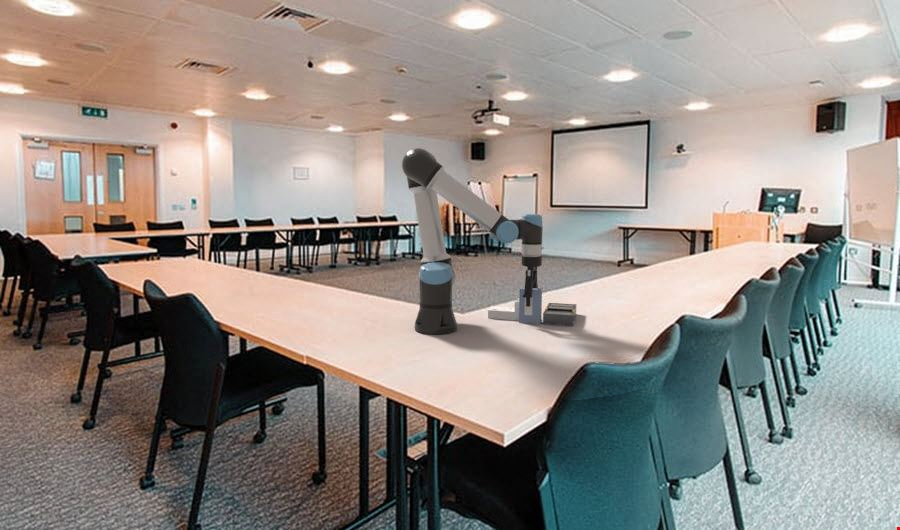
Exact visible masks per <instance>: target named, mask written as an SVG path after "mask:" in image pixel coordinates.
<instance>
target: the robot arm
mask: <svg viewBox="0 0 900 530" xmlns="http://www.w3.org/2000/svg"><path fill="white" fill-rule="evenodd" d="M401 168H402V170H403V174H404V176H406V181H407V185H408V190H409V191H410V192H412V193H413V198H414V204H415V211H416V215H417V216H416V217H417V221H418V229H419V235H420V242H421V247H422V248H421V249H422V253H423V257H422V258H421V260H420V266H419V267H420V268H419V272H418V277H419V309H418V312H417V315H416V319H415V322H414V330H415V331H416V332H418V333H421V334H426V335H427V334H428V335H443V334H450V333H453V332H456V331H457V330H458V327H457V326H458V322H457V319H456V316H455V313H454V311H453V285H454V283H455V278H456V275H455V271H454V269H453V263H452V258H451V256H450V254H449V253H447V251H446V245H445V244H446V243H445V237H444V231H443V225H442V217H441V212H440V206H439V199H438V195H440V196H441V197H442V198H444V200H446V201H448V202H449V203H450V204H452V206H454V207H455V208H457V209H458V210H459V211H461V212H462V213H463V214H465V215H466V216H468V217H469V218H470V219H472V220H473V221H474V222H476V224H478V225H480V226H481V227H482V228H483V229H485V230H486V231H487V232H489V238H490V239H491V240H494V241H495V240H496V241H500V243H503V244H510V243H513V242H515V241H516V240H517V241H518V240H521V255H522V256H521V266H523V267H527V269H526V270H525V272H524V273H525V280H524V288H525V290H524V295H523V297H524V298H525V315H532V290H533V288H539V287H538V267H541V266H543V265H542V264H543V263H542V262H543V257H542V256H541V255H542V253H543V250H544V249H545V248H544V246H542V245H543V227H544V226H543V216H542V214H539V213H534V214H533V213H528V214H527V213H524V214H522V217H521V219H520V218H519V219H508V217H506V216H505V215H503V214H502V213H501V212H500V211H498V210H497V209H495V208H494V207H493V206H491V204H489V203H487V202H486V201H485V200H484V199H482V198H481V197H479V195H477V194H475V193H474V192H473V191H472V190H470V189H469V188H467V186H465V185H463V183H461V182H459V181H458V180H457V179H456V178H454V177H453V176H451V174H449V173H448V172H446V171H445V167H444V166H443V165H442V164H441V163H440V162H438V161H437V159H436V157H435V156H434V155H433V154H432V153H431V152H430V151H428V150H426V149H424V148H420V147H419V148H416V147H415V148H412V149H410V150H409V151H407V152H406V154H404V156H403V158H402V161H401Z"/></svg>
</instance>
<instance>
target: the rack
mask: <svg viewBox="0 0 900 530" xmlns="http://www.w3.org/2000/svg"><path fill="white" fill-rule="evenodd" d="M575 316H577V303H576V304H575V303H561V302H560V303H557V302H548V303H547V306H546V307H545V309H544V311H543V312H542V324H543V325H554V326H566V327H567V326H568V327H574V323H575V319H576V317H575Z"/></svg>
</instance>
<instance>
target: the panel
mask: <svg viewBox="0 0 900 530" xmlns="http://www.w3.org/2000/svg"><path fill="white" fill-rule="evenodd" d="M524 290H525V287H520V288H519V320H518V323H521V324H529V325H530V324H531V325H533V324H534V325H541V324H542V313H543V312H542V308H543V305H542V304H543V288H541V287H540V288H539V287H538V288H533V290H532V315H525V298H524V297H523V295H524Z"/></svg>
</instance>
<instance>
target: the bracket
mask: <svg viewBox="0 0 900 530" xmlns="http://www.w3.org/2000/svg"><path fill="white" fill-rule="evenodd" d="M487 318H488V319H491V318H492V319H493V320H495V319H496V320H510V321H519V298H518V297H517V298H516V300H514V307H507V306H505V307H504V306H490V307H489V309H487Z"/></svg>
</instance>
